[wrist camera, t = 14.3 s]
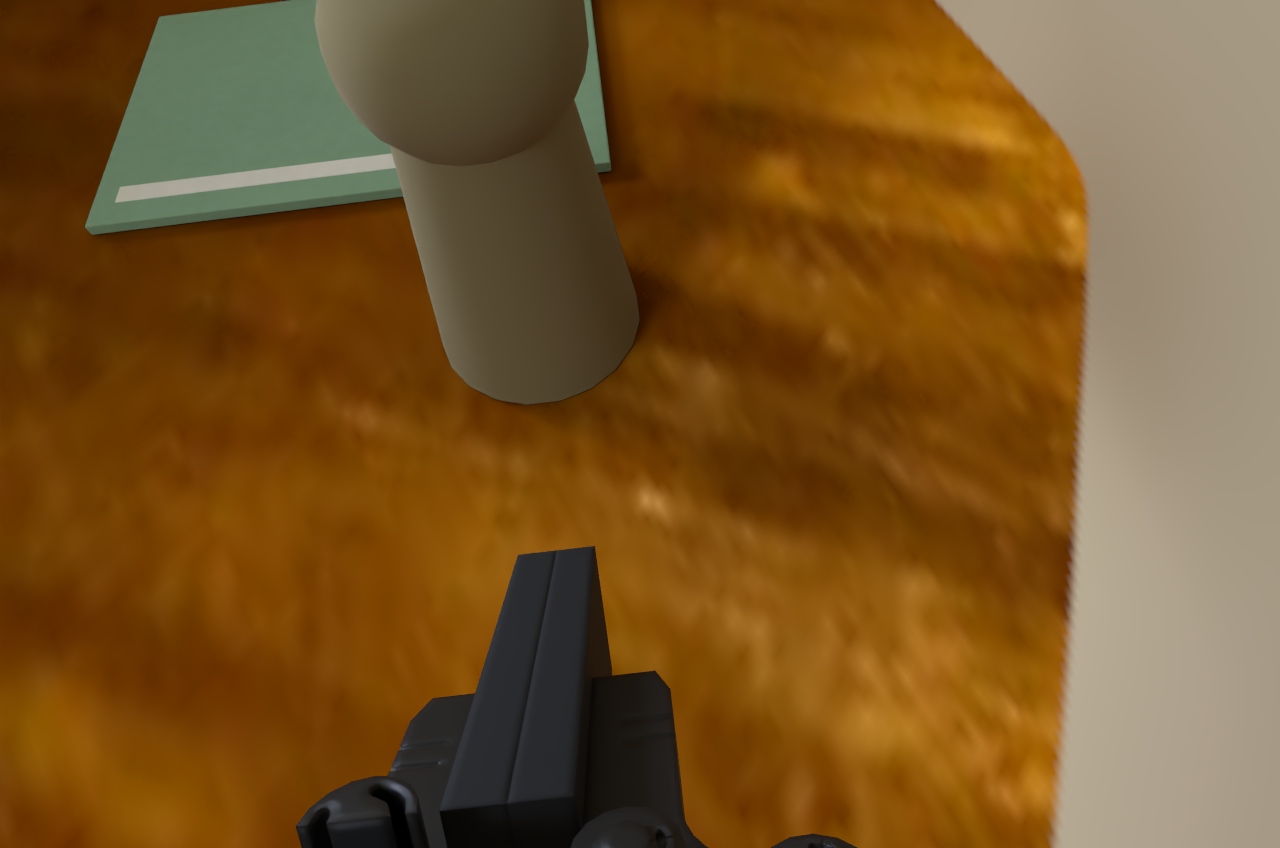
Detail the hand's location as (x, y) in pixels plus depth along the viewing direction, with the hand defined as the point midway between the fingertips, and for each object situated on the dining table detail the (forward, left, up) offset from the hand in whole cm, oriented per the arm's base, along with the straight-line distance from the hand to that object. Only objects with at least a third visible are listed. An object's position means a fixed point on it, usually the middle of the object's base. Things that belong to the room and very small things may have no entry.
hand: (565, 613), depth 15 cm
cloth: (+7, -22, -4) cm, 23 cm away
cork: (+1, -10, -4) cm, 11 cm away
